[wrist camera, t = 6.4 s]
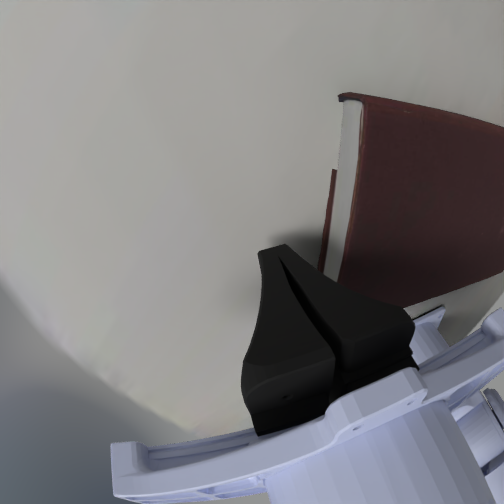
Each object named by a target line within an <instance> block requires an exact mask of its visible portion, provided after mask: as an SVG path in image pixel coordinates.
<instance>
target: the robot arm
mask: <svg viewBox="0 0 504 504" xmlns="http://www.w3.org/2000/svg"><path fill="white" fill-rule="evenodd" d="M258 259H259V264H260V269H261V274H262V289H261V301H260V308H259V313H258V318H257V323H256V327H255V330H254V333H253V337H252V340H251V343H250V346H249V348H248V351H247V353H246V355H245V358H244V360H243V367H242V375H241V391H242V395H243V399H244V403H245V405H246V407H247V409H248V410H249V412H250V414H251V418H252V422H253V425H254V428H250V429H246V430H242V431H238V432H233V433H229V434H224V435H220V436H215V437H210V438H204V439H199V440H193V441H187V442H181V443H174V444H167V445H160V446H150V447H147V446H146V445H144V444H143V443H141V442H136V441H129V442H116V443H111V463H112V480H113V493H114V496H115V497H119V498H122V499H125V500H130V501H133V502H137V503H142V504H162V503H184V502H198V501H210V500H219V499H227V498H234V497H241V496H247V495H254V494H259V493H264V492H267V493H268V496H269V499H270V503H271V504H504V431H503V429H504V401H503V400H502V399H501V397H500V395H499V394H498V392H497V391H496V390H495V389H488V388H487V389H485V390H484V391H483V393H484V394H485V396H486V398H487V399H488V403H489V404H490V406H491V408H492V410H491V408H490V406H489V405H488V403H487V401H486V400H485V398H484V396H483V395H482V393H481V391H480V389H481V388H483V387H484V386H485V385H486V384H487V383H489V382H490V381H491V380H492V379H494V378H495V377H496V376H497V375H498V374H499V373H501V372H502V371H503V370H504V310H503V309H502V308H499V309H497V310H496V311H494V312H493V313H491V314H490V315H489V316H488V317H487V318H486V319H485V320H484V321H483V323H482V325H481V328H480V329H478V330H476V331H475V332H473V333H472V334H470V335H469V336H467V337H465V338H464V339H462V340H461V341H459V342H457V343H456V344H454V345H452V346H451V347H450V346H449V345H448V344H447V342H446V341H445V339H444V338H443V337H442V335H441V334H440V332H439V331H438V330H437V329H438V326H439V324H440V322H441V320H442V317H443V315H444V313H445V308H444V307H440V308H438V309H436V310H434V311H432V312H430V313H428V314H426V315H424V316H422V317H420V318H417V319H415V320H412V319H411V317H410V316H409V315H408V314H407V312H406V311H405V310H404V309H403V308H402V307H401V306H397V305H393V304H389V303H385V302H382V301H378V300H376V299H373V298H370V297H367V296H364V295H362V294H360V293H357V292H355V291H353V290H350V289H348V288H346V287H344V286H343V285H341V284H339V283H337V282H335V281H334V280H332V279H330V278H329V277H327V276H326V275H324V274H323V273H321V272H320V271H318V270H317V269H316V268H314V267H313V266H312V265H310V264H309V263H308V262H306V261H305V260H304V259H303V258H301V257H300V256H299V255H298V254H297V253H296V252H294V251H293V250H292V249H291V248H290V247H289V246H288V245H286V244H283V245H279V246H275V247H272V248H268V249H265V250H261V251H259V252H258Z"/></svg>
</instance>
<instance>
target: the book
mask: <svg viewBox="0 0 504 504" xmlns="http://www.w3.org/2000/svg"><path fill="white" fill-rule="evenodd" d="M338 97H339V102H344V107H343V119H342V130H341V140H340V150H339V160H338V170H335V169H332V175H331V184H330V192H329V198H328V203H327V210H326V219H325V224H324V230H323V238H322V248H321V253H320V257H319V262H318V271H320V272H321V273H323V274H324V275H326V276H327V277H329V278H330V279H332V280H334V281H335V282H337V283H339V284H341V285H343V286H344V287H346V288H348V289H350V290H353V291H355V292H357V293H360V294H362V295H364V296H367V297H370V298H373V299H376V300H378V301H382V302H385V303H389V304H393V305H397V306H401V307H402V308H405V307H408V306H411V305H414V304H417V303H420V302H423V301H425V300H428V299H431V298H433V297H437V296H440V295H443V294H446V293H448V292H451V291H454V290H457V289H459V288H462V287H465V286H467V285H470V284H473V283H476V282H479V281H481V280H484V279H486V278H489V277H491V276H494V275H496V274H499V273H501V272H503V270H504V127H501V126H498V125H495V124H492V123H489V122H485V121H482V120H479V119H475V118H471V117H468V116H464V115H461V114H457V113H453V112H448V111H444V110H440V109H435V108H431V107H426V106H421V105H416V104H411V103H406V102H402V101H397V100H392V99H387V98H381V97H376V96H370V95H364V94H358V93H352V92H347V93H342V94H340V95H338Z"/></svg>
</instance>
